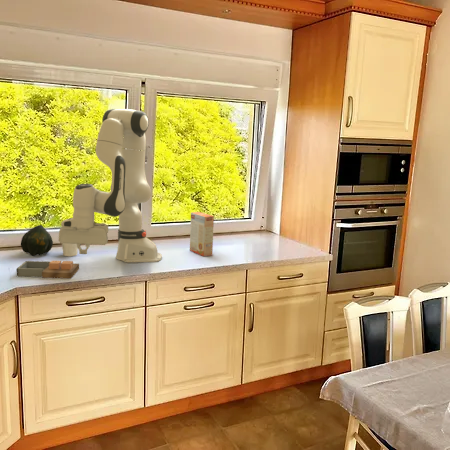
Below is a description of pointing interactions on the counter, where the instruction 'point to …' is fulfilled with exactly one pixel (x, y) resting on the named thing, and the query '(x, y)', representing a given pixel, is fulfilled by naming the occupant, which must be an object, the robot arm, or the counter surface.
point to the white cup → (69, 249)
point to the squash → (36, 241)
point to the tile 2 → (66, 264)
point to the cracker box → (201, 233)
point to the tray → (32, 268)
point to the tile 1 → (54, 264)
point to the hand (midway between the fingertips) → (83, 253)
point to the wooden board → (60, 272)
